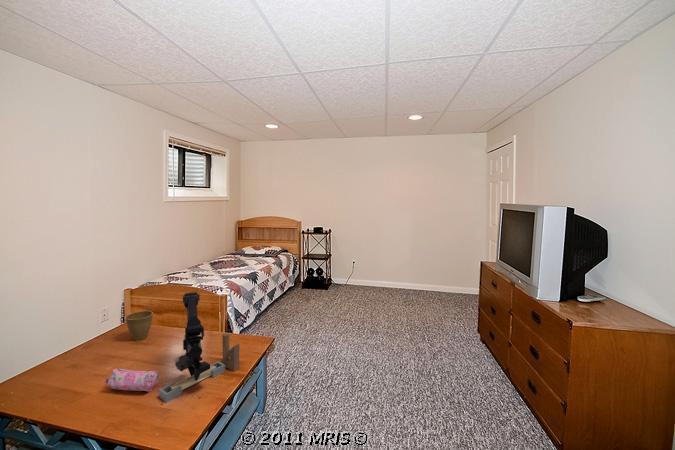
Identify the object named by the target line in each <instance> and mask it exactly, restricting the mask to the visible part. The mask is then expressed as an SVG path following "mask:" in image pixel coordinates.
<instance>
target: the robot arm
mask: <svg viewBox="0 0 675 450" xmlns="http://www.w3.org/2000/svg"><path fill="white" fill-rule="evenodd" d="M200 297H201V296H200V293H198V292H197V291H195V292H193V291H192V292H186V293H184V295H182V304H183V305H184V308H186V314H187V315H186V319H187V320H186V321H187V322H186V327H185V328H184V329H185V330H184V332H185V333H184V336H183V337H184V338H183V340H182V346H183V350H182V351H185V353H184V354H183V355H180V356H179V358H178V360H177V361H176V362H175V363H174V366H175V367H176V369H177V370H178V371H180V372H183V371H185V370H188V372H189V376H192V375H194V377H195V381H197V380H198V378H199V376H200V374H201V373H203V372H205V371H207V370H209V369H210V365H211V364H210V363H208V362H207V361H205V360H204V361H203V357H201V355H202V354H203V347H202V343H201V341H202V340H204V337H205V327H204V326H203V324H201V323H202V322H201V320H200V318H198V317H199V316H198V307H197V306H198V305H199V302H200V300H201V298H200Z"/></svg>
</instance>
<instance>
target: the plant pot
mask: <svg viewBox="0 0 675 450" xmlns="http://www.w3.org/2000/svg"><path fill="white" fill-rule="evenodd" d="M153 315H154V312H153V311H151V310H141V311H137V312H132V313H129V314H128V315H126V316H125V322H126V325H127V328H128V331H129V333H130V336H131V337H132V340H134V341H136V342H137V341H142V340H146V339H147V338H148V336H149V332H150V329H151V326H152V321H153Z"/></svg>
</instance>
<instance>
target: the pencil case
mask: <svg viewBox="0 0 675 450" xmlns="http://www.w3.org/2000/svg"><path fill="white" fill-rule="evenodd" d="M159 377H160V374H159V372H158V371H157V370H156V371H155V370H152V371H151V370H150V371H149V370H148V371H143V370H128V369H127V368H126V369H124V368H114V369H113V370H111V375H110V376H109V377H108V378H105V381H104V383H105V384H107V387H108V388H109V389H112V390H121V391H139V392H141V391H142V392H143V391H144V392H151V391H152V390H154V388H155V387H156V385H157V384H158V381H159Z"/></svg>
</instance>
